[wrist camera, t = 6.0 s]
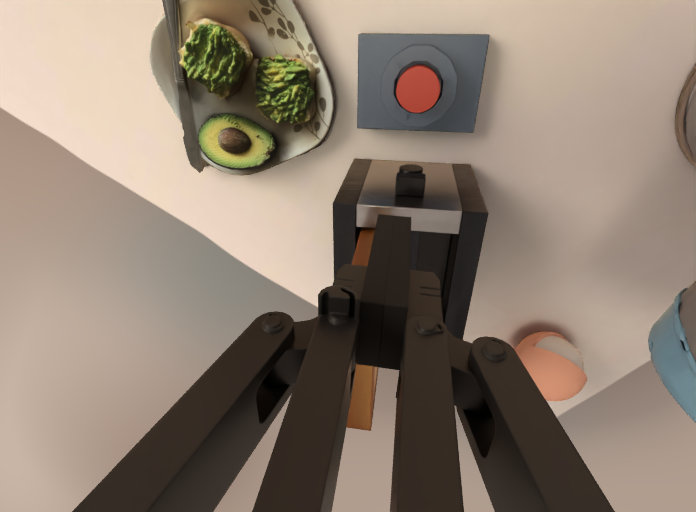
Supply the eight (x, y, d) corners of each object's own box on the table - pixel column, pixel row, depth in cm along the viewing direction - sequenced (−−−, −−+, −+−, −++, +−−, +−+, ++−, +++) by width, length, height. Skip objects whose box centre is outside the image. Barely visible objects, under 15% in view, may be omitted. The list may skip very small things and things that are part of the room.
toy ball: (586, 347, 49) (612, 399, 42) (530, 373, 53) (546, 425, 46) (549, 307, 47) (571, 355, 40) (493, 337, 50) (505, 385, 44)
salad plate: (108, 7, 38) (72, 6, 34) (263, -96, 32) (242, -113, 28) (215, 187, 46) (196, 203, 42) (355, 131, 40) (348, 143, 36)
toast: (391, 214, 35) (377, 306, 24) (384, 318, 41) (370, 431, 30) (365, 212, 36) (340, 303, 24) (362, 315, 42) (341, 426, 30)
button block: (486, 34, 34) (493, 35, 31) (471, 128, 38) (476, 137, 35) (360, 33, 35) (355, 34, 32) (359, 124, 40) (354, 132, 37)
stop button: (441, 64, 33) (442, 66, 31) (436, 109, 35) (437, 113, 33) (398, 64, 33) (397, 66, 32) (396, 108, 35) (394, 112, 34)
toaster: (473, 148, 39) (492, 193, 29) (448, 298, 49) (456, 372, 38) (354, 143, 41) (332, 183, 30) (352, 289, 50) (335, 357, 40)
